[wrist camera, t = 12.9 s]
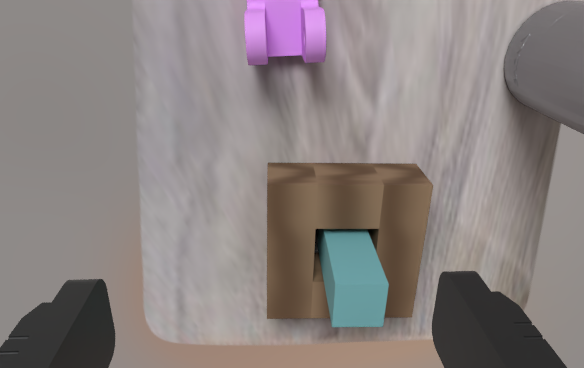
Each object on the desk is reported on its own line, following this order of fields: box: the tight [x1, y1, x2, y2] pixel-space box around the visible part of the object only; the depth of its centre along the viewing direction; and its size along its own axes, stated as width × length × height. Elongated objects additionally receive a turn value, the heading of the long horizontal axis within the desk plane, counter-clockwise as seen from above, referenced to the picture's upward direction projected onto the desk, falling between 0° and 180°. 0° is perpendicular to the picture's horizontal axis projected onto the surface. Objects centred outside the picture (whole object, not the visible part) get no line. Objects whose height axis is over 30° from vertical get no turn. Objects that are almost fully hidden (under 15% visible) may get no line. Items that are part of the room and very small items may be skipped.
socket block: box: [267, 163, 433, 319], centre depth 43 cm, size 14×14×5 cm
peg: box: [317, 229, 389, 327], centre depth 40 cm, size 4×4×12 cm
